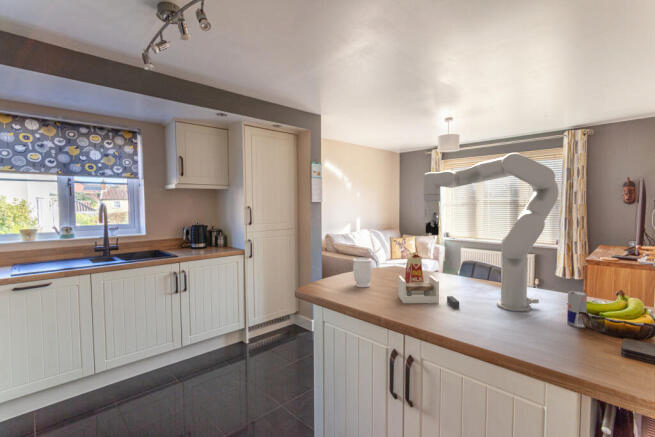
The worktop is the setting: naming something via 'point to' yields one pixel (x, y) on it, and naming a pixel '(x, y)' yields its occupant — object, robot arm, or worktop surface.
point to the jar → (362, 271)
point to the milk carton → (414, 269)
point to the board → (419, 287)
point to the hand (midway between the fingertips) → (431, 234)
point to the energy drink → (576, 308)
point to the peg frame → (419, 292)
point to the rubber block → (453, 302)
